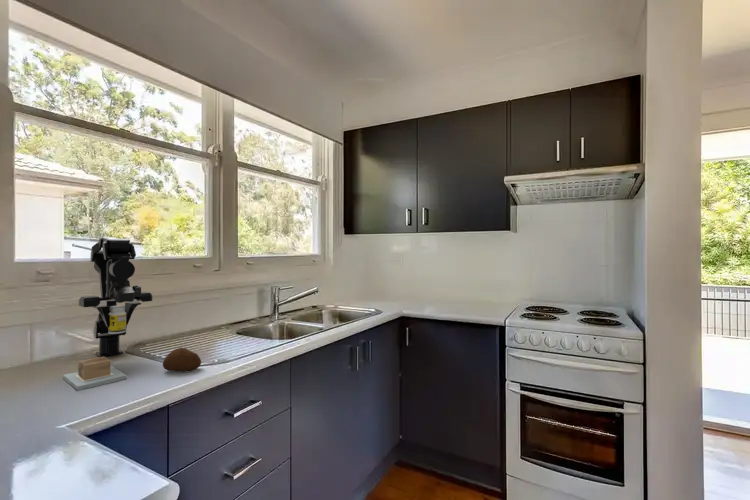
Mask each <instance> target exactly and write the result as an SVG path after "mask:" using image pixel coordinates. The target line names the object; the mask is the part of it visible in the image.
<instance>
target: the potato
mask: <svg viewBox="0 0 750 500" xmlns="http://www.w3.org/2000/svg"><path fill="white" fill-rule="evenodd" d="M162 362H163V363H162V367H163V369H164V370H166V371H167V372H168V371H169V372H176V373H185V372H186V373H187V371H188V372H192V370H193V371H196V370H197V369H198V368H200V366H201V364H202V360H201V357H200V355H198V354H197V353H196V352H194V351H192V350H189V349H188V348H185V347H179V348H176V349H173V350H172V351H170V352H169V353H167V355H166V356H165V358H164V360H163V361H162Z"/></svg>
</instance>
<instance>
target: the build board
mask: <svg viewBox="0 0 750 500" xmlns="http://www.w3.org/2000/svg"><path fill="white" fill-rule="evenodd" d="M62 377H63V379H64V380H65V382H66V383H68V384H69V385H71V386H72V387H73V388H74V389H75V390H76V391H81V390H84V389H89V388H93V387H97V386H101V385H106V384H110V383H114V382H115V383H116V382H119V381H123V380H127V375H126V374H125V373H123V372H121V371H120V370H118V369H117V368H115V367H113V366H111V365H110V375H106V376H101V377H97V378H92V379H88V380H83V379H82V378H81V377H80V376H78V371H76V372H70V373H65V374H63V376H62Z"/></svg>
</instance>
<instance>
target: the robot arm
mask: <svg viewBox="0 0 750 500" xmlns="http://www.w3.org/2000/svg"><path fill="white" fill-rule="evenodd" d="M136 256H137V254H136V249H135V246H134V244H133V242H132V241H131V240H130V239H129V238H118V237H115V236H101V237H99V239H98V242H96V243H95V244H93V245H92V246H91V249H90V262H91V263H93V262H94V268H95V269H94V268H93V269H94V270H95V271H96V272H97V273H98V276H99V286H100V287H99V289H100V290H99V291H100V296H98V295H88V296H87V295H85V296H81V297H80V298H79V299H78V306H79V307H82V308H93V309H96V310H97V311H98V315H97V317H96V320H95V323H94V326H93V327H94V328H93V338H94V339H95V340H98V339H99V341H98V343H99V349H98V350H99V351H96V352H95V355H97V356H99V357H109V356H114V355H118V354H123V353H124V351H123V350H121V349H120V336H126V335H127V331H126V332H124V333H119V334H109V333H108V327H109V313H110V307H111V306H118V305H117V303H118V304H119V303H120V304H122V303H124V306H125V310H124V311H125V312H126V329H127V328H128V325H129V322H130V320H131V317H132V315H133V313H134V311H135V309H136V308H137V307H138V306H139V305H141V304H142V303H144V302H152V301H153V294H152V293H151V292H147V291H142V287H141V285H140V284H139V285H132V286H131V282H130V280H129V278H131V277H132V276H133V275H134V274H135V272H136V267H135V265H134V264H133V263H132V262H131V261H130V260H135V259H136ZM141 302H142V303H141Z"/></svg>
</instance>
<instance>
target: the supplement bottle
mask: <svg viewBox="0 0 750 500" xmlns="http://www.w3.org/2000/svg"><path fill="white" fill-rule="evenodd" d="M124 332H126V333H127V328H126V312H125V305H117V306H111V307H110V313H109V327H108V333H109V334H119V333H124Z"/></svg>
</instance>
